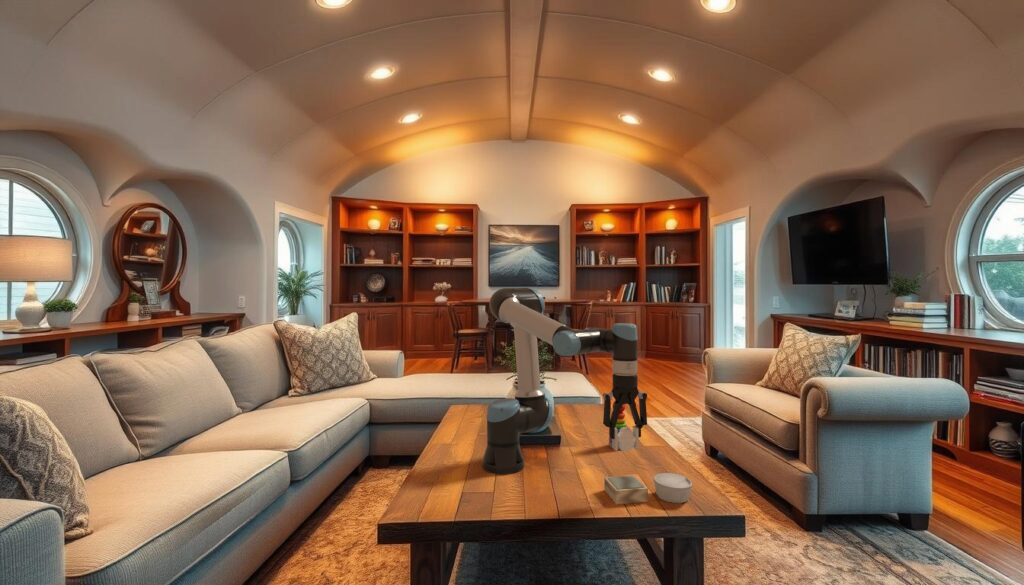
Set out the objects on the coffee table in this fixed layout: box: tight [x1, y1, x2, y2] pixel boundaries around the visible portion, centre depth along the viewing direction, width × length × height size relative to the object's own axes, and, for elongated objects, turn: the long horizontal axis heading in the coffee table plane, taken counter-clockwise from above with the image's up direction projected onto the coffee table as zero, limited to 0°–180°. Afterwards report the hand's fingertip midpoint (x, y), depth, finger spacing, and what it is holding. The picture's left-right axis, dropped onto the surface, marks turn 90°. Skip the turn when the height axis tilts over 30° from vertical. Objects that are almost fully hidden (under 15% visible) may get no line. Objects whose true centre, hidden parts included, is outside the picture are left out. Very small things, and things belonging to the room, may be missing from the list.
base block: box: [603, 474, 649, 505], centre depth 143 cm, size 10×10×4 cm
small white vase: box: [618, 426, 636, 452], centre depth 143 cm, size 6×6×7 cm
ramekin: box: [653, 472, 693, 504], centre depth 143 cm, size 11×11×5 cm
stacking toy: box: [608, 402, 627, 450], centre depth 188 cm, size 8×8×19 cm
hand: (625, 448), depth 143 cm, fingers closed on small white vase, 6 cm apart
